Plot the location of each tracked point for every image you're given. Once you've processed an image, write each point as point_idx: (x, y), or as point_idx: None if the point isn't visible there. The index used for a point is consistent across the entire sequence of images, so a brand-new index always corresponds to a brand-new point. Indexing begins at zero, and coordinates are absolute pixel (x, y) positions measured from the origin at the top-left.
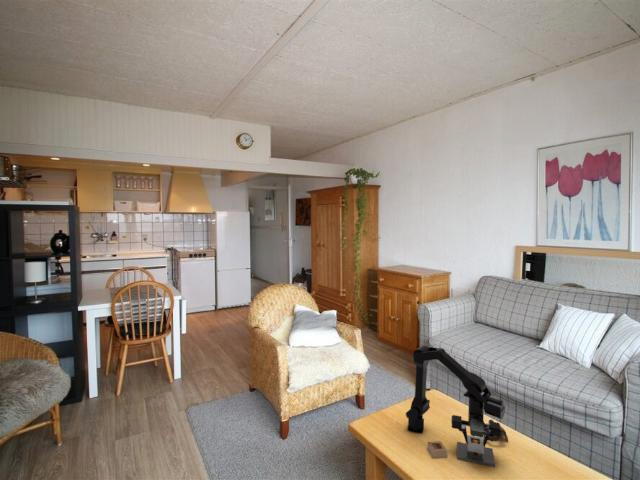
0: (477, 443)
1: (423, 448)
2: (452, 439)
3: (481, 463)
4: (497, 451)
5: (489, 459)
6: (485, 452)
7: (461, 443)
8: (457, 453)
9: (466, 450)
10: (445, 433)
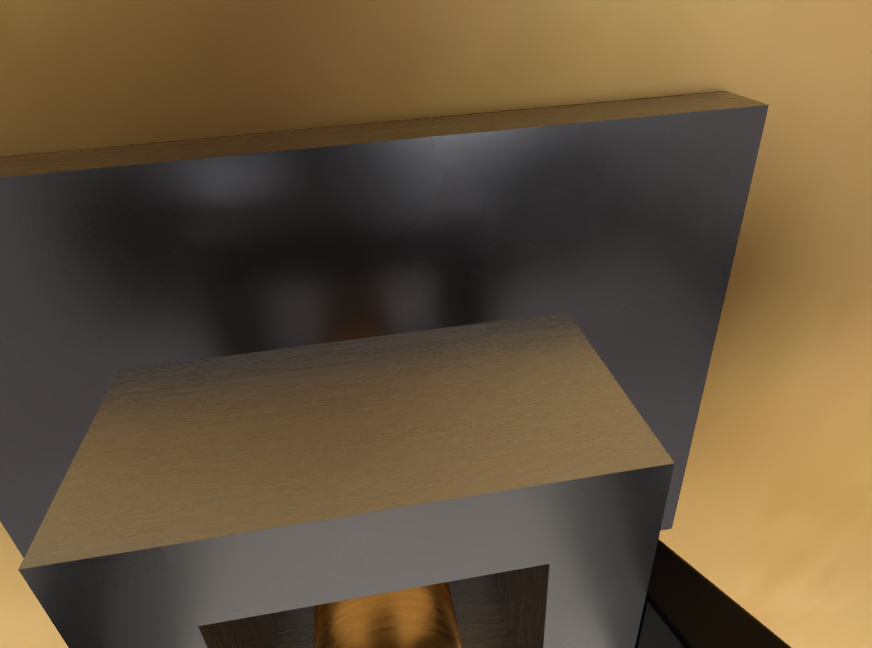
0: (321, 622)
1: None
2: (691, 552)
3: (194, 145)
4: (11, 616)
5: (19, 329)
6: None
7: None
8: (738, 224)
9: None
10: (757, 607)
